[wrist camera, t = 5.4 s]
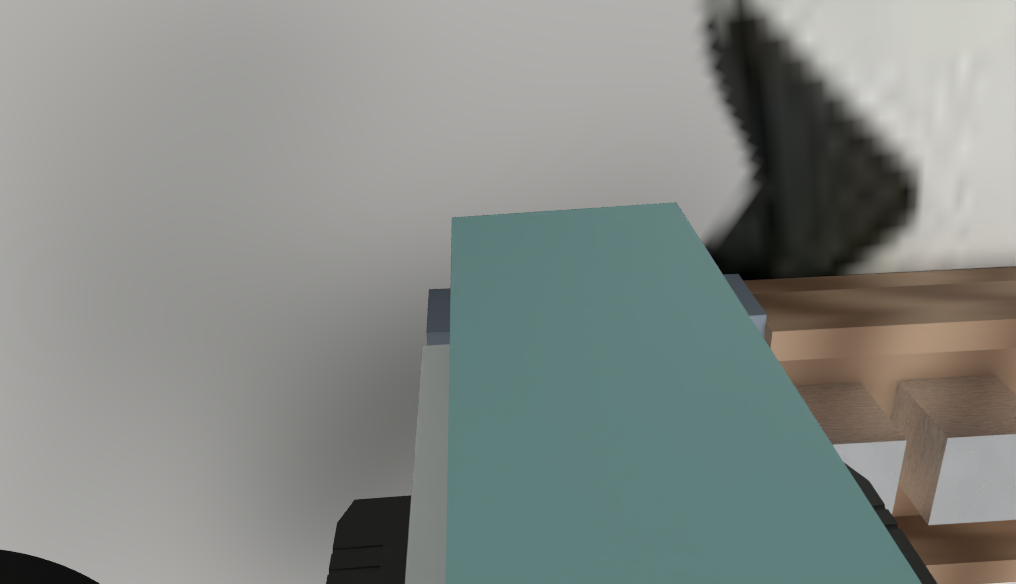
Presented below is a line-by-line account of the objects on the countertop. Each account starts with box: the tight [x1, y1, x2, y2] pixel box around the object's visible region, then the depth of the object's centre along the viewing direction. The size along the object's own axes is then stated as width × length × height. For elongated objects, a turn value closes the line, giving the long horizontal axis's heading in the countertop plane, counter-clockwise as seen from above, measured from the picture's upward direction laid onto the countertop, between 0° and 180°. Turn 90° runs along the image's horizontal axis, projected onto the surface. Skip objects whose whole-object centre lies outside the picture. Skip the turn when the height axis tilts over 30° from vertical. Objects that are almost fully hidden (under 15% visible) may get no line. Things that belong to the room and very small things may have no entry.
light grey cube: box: [890, 375, 1016, 525], centre depth 35 cm, size 4×4×4 cm
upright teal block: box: [446, 202, 922, 584], centre depth 13 cm, size 4×7×10 cm, turn 3°
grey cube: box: [795, 382, 907, 514], centre depth 35 cm, size 4×4×4 cm
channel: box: [744, 267, 1016, 584], centre depth 36 cm, size 18×12×4 cm
